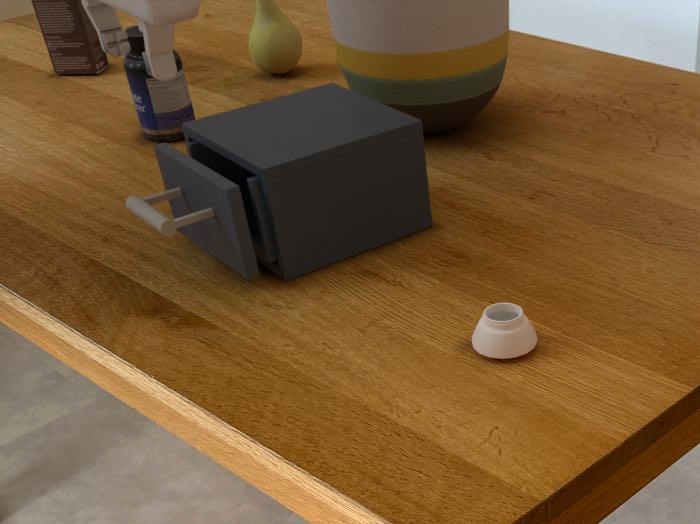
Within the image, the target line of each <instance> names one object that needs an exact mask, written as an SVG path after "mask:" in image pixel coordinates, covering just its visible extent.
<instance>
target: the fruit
mask: <svg viewBox="0 0 700 524" xmlns="http://www.w3.org/2000/svg"><path fill="white" fill-rule="evenodd" d="M248 51H249V55H250V57H251V60H252V62H253V63H254V65H255V66H256V67H257V68H258V69H259V70H261V71H262V72H264V73H267V74H276V75H287V72H289V71H291V70H293V69H294V68H295V67H296V66H297V65H298V63H299V62H300V60H301V57H302V55H303V54H302V53H303V38H302V35H301V32H300V30H299V29H298V27H297V26H296V25H295V24H294V23H293V22H292V20H290V18H288V16H287V15H286V14H284V12H283V11H282V9H281V8H280V7H279V5H278V4H277V3H276V2H275V0H255V16H254V20H253V23H252V26H251V29H250V32H249V35H248Z"/></svg>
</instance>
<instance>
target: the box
mask: <svg viewBox="0 0 700 524" xmlns="http://www.w3.org/2000/svg"><path fill="white" fill-rule="evenodd" d="M30 1H31V4H32V7H33V10H34V13H35V16H36V20H37V22H38V25H39V29H40V31H41V34H42V37H43V40H44V43H45V46H46V50H47V52H48V56H49V58H50V59H49V60H50V62H51V65H52V68H53V71H54V74H55V75H76V74H78V75H79V74H80V75H81V74H82V75H85V74H86V75H87V74H88V75H89V74H91V75H92V74H93V75H98V74H100V73H102V72H103V71H104V70H106V68H108V66H109V65H110V62H109V59H108V56H107V53H105V52H104V51H103V50H102V47H101V43H100V40H99V37H98V33H97V30H96V29H95V27H94V25H93V24H92V22H91V20H90V18H89V16H88V14H87V12H86V11H85V9H84V7H83V5H82V2H81V0H30Z"/></svg>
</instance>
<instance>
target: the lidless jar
mask: <svg viewBox="0 0 700 524" xmlns="http://www.w3.org/2000/svg"><path fill="white" fill-rule="evenodd" d="M537 335H538V334H537V332H536V330H535V327H534V326H533V325H532V323H531V321H530V319H529V318H528V316H526V314H524V310H523V308H522V307H521V306H519V305H518V304H515V303H512V302H496V303H493V304H490V305H487V307H486V308H484V309H483V311H482V316H481V317H480V319H479V320H478V323H477V325H476V327H475V328H474V331H473V333H472V335H471V344H472V348H473V350H475V351H476V352H477V353H478V354H480V355H482V356H485V357H487V358H490V359H491V358H492V359H500V360H504V359H513V358H518V357H521V356H524V355H526V354H528V353H529V352H531V351H532V350H534V349H535V347H536V346H537V343H538V336H537Z"/></svg>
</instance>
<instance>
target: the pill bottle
mask: <svg viewBox="0 0 700 524" xmlns="http://www.w3.org/2000/svg"><path fill="white" fill-rule="evenodd" d="M124 29H125V30H126V33H127V36H128V42H129V44H130V47H131V51H130V53H129V54H127V55H124V57H123V68H124V72H125V76H126V78H127V82H128V86H129V89H130V93H131V97H132V100H133V103H134V107H135V111H136V114H137V117H138V121H139V125H140V128H141V132H142V134H143V136H144V137H145V138H146V139H147V140H150V141H155V142H161V143H167V142H173V141H178V140H183V139H185V137H184V133H183V129H182V126H181V124H182V123H185V122H189V121H193V120H196V119H197V118H196V114H195V109H194V106H193V103H192V98H191V94H190V90H189V87H188V86H189V85H188V82H187V79H186V75H185V69H184V67H183V63H182V62H183V61H182V58H181V56H180V54H179V53H178V52H177V51H176V50H175V49H173V55H174V59H175V63H176V67H177V75H176V76H175V77H174V78H170V79H166V80H162V81H161V80H158V79H156V78H154V77H152V76H151V75H149V74H148V73H147V70H146V64H145V62H144V59H143V55H142V52H146V51H145V44H144V36H143V32H141V31H140V30H139V27H138V24H135V25H131V26H129V27H126V28H124Z"/></svg>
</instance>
